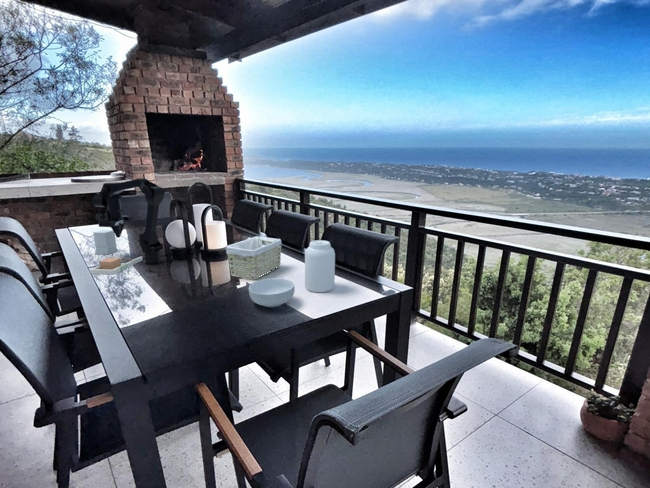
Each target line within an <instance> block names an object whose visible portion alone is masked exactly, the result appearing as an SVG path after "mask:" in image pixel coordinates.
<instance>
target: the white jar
mask: <svg viewBox="0 0 650 488" xmlns="http://www.w3.org/2000/svg"><path fill="white" fill-rule="evenodd" d="M335 271H336V253H335V249H334V248H333V247H332V246H331V242H330V241H328V240H323V239H322V240H321V239H319V240H318V239H317V240H312V241H310V242H309V246H308V247H307V248H306V249H305V252H304V287H305V289H306V290H307V291H310V292H313V293H327V292H330V291H332V290H334V288H335V277H336V276H335V273H336V272H335Z"/></svg>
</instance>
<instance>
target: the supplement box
mask: <svg viewBox="0 0 650 488" xmlns="http://www.w3.org/2000/svg"><path fill="white" fill-rule="evenodd" d="M92 234H93V238H94V240H93V241H94V245H95V246H94V247H95V252H96V255H111V254H114V253H116V252H118V247H117V241H116V235H115V233H114V231H113V230H112V229H100V230H97V231H93V232H92Z"/></svg>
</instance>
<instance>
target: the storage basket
mask: <svg viewBox="0 0 650 488" xmlns="http://www.w3.org/2000/svg"><path fill="white" fill-rule="evenodd" d="M263 243H265V245H263ZM225 250H226V256H227V259H228V264H229V265H228V266H229V270H230V275H231V276H232V277H235V278H236V277H237V278H242V279H246V280H251V281H257V280H259V279H260V278H262V277H264V276H265V275H268V274H270V273H272V272H273V271H275V270H277V269H280V267H281V259H282V253H281V252H282V239H281V238H273V237H266V236H257V235H256V236H253V237H249V238H247V239H243V240H242V241H238V242H235V243H232V244H228V245H227V246H226V247H225ZM279 265H280V266H279ZM276 267H277V268H276ZM275 268H276V269H275ZM271 270H272V271H271ZM269 271H270V272H269ZM267 272H268V273H267ZM265 273H266V274H265ZM263 274H264V275H263ZM261 275H262V276H261ZM259 276H260V277H259Z"/></svg>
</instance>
